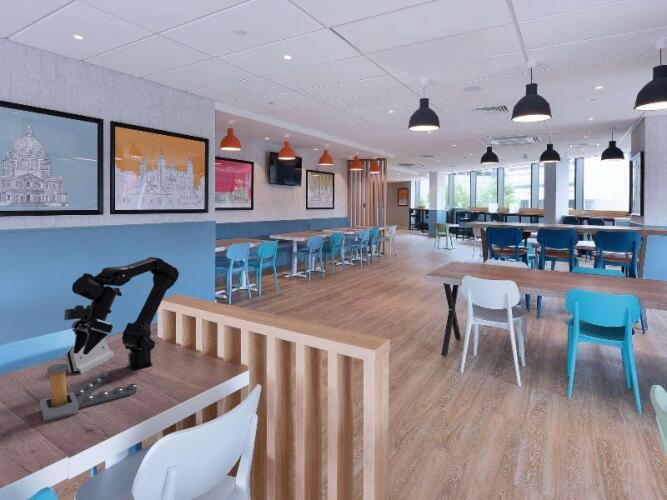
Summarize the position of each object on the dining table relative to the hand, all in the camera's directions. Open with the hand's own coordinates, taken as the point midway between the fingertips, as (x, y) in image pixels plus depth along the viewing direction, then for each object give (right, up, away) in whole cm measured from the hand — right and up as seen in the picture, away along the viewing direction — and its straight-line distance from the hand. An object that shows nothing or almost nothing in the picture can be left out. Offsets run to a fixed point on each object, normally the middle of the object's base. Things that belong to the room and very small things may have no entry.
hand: (79, 353), depth 123 cm
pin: (-1, -14, -8) cm, 16 cm away
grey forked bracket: (+2, -13, +1) cm, 13 cm away
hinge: (-11, -10, +24) cm, 29 cm away
